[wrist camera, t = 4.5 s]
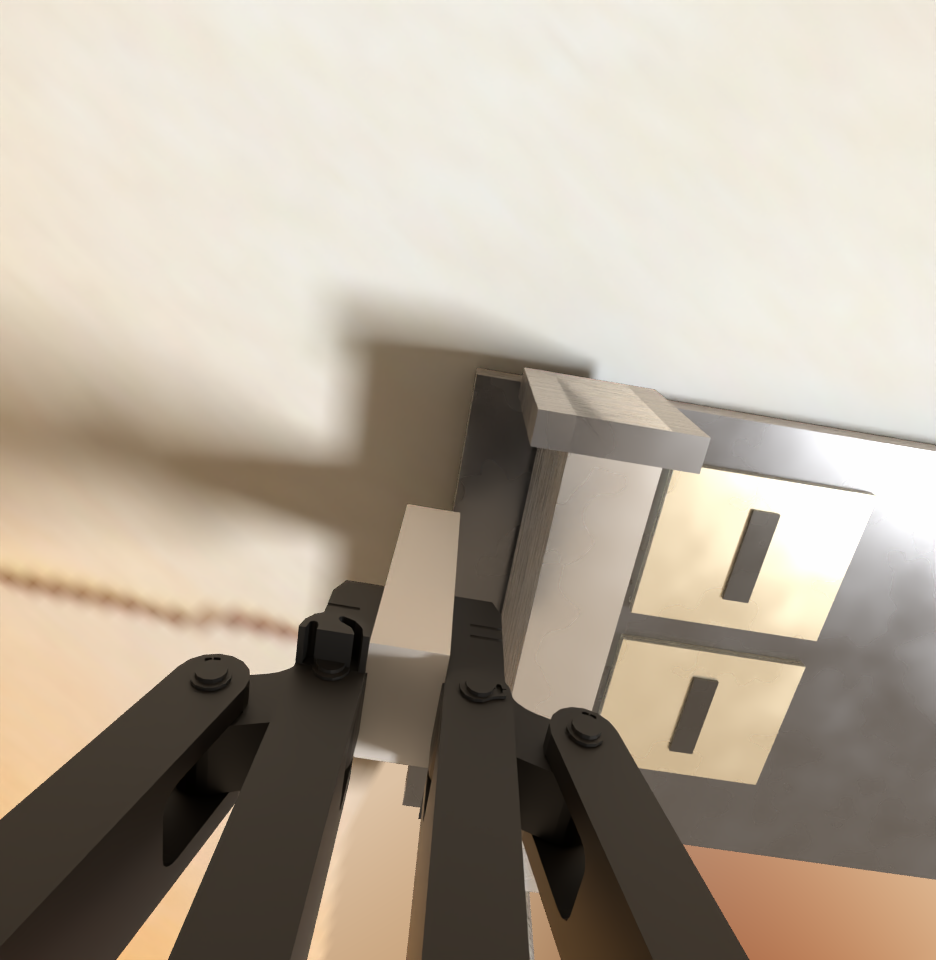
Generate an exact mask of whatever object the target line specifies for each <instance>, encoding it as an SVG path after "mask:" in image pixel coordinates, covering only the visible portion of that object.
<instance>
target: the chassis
mask: <svg viewBox="0 0 936 960" xmlns="http://www.w3.org/2000/svg"><path fill="white" fill-rule="evenodd" d="M521 380H522V375H518V374H512V373H506V372H500V371H494V370H489V369H483V368H477V370H476V376H475V382H474V388H473V393H472V399H471V405H470V411H469V417H468V423H467V428H466V434H465V440H464V446H463V452H462V457H461V463H460V469H459V475H458V481H457V487H456V492H455V498H454V504H453V510H452V511H453V512H459V513H460V524H459V538H458V552H457V566H456V579H455V593H454V596H457V597H463V598H469V599H475V600H482V601H488V602H492V603H493V604H494V606H495V607H496V608H497V610H498V611H499V613H500V614H502V609H503V604H504V600H505V595H506V591H507V586H508V581H509V577H510V572H511V567H512V563H513V558H514V553H515V549H516V544H517V539H518V535H519V530H520V525H521V521H522V516H523V511H524V507H525V502H526V497H527V493H528V488H529V483H530V479H531V474H532V469H533V465H534V460H535V455H536V451H537V447H532V446H530V442H529V438H528V434H527V430H526V426H525V422H524V418H523V413H522V409H521V405H520V401H519V397H518V395H519V390H520V385H521ZM668 401H669V402H670V403H671V404H672V405H673V406H675V407H676V408H677V409H678V410H679V411H680V412H682V413H683V414H684V415H685V416H686V417H687V418H688V419H690V420H691V421H692V422H693V423H694V424H695V425H697V426H698V427H699V428H700V429H701V430H702V431H703V432H705V433H706V434H707V435H708V436H709V437H710V438H711V439H710V443H709V446H708V449H707V452H706V455H705V459H704V462H703V465H702V468H701V471H700V474H696V473H689V472H683V471H677V470H671V469H665V468H662V471H661V474H660V478H659V481H658V485H657V488H656V492H655V495H654V499H653V502H652V505H651V509H650V512H649V516H648V519H647V523H646V526H645V530H644V533H643V536H642V540H641V543H640V547H639V550H638V554H637V557H636V560H635V564H634V567H633V571H632V574H631V578H630V581H629V585H628V588H627V591H626V595H625V598H624V602H623V605H622V609H621V612H620V616H619V619H618V622H617V626H616V629H615V633H614V636H613V640H612V643H611V647H610V650H609V653H608V657H607V660H606V664H605V667H604V671H603V674H602V678H601V681H600V684H599V688H598V691H597V695H596V698H595V702H594V705H593V709H592V711H593V712H595V713H598V714H599V715H601V716H602V717H604V718H605V719H606V720H608V721H609V722H610V723H611V724H612V725H613V726H614V728H615V729H616V730H617V731H618V733H619V735H620V737H621V738H622V740H623V742H624V743H625V745H626V747H627V749H628V750H629V752H630V754H631V756H632V757H633V759H634V761H635V763H636V764H637V766H638V768H639V769H640V771H641V773H642V775H643V776H644V778H645V780H646V782H647V783H648V785H649V787H650V789H651V790H652V792H653V794H654V795H655V797H656V799H657V801H658V802H659V804H660V806H661V808H662V809H663V811H664V813H665V815H666V816H667V818H668V820H669V821H670V823H671V825H672V827H673V828H674V830H675V832H676V834H677V835H678V837H679V839H680V841H681V842H682V844H685V845H692V846H699V847H706V848H714V849H721V850H728V851H735V852H742V853H749V854H757V855H764V856H771V857H778V858H785V859H792V860H799V861H807V862H815V863H821V864H828V865H835V866H842V867H850V868H857V869H864V870H871V871H878V872H885V873H892V874H900V875H907V876H914V877H921V878H929V879H936V445H932V444H926V443H920V442H914V441H908V440H902V439H896V438H890V437H884V436H878V435H872V434H867V433H861V432H855V431H849V430H843V429H837V428H831V427H825V426H819V425H813V424H807V423H802V422H796V421H790V420H784V419H778V418H772V417H766V416H760V415H754V414H748V413H743V412H737V411H731V410H725V409H719V408H713V407H707V406H701V405H695V404H689V403H683V402H678V401H672V400H668ZM428 766H429V765H428ZM427 772H428V768H424V767H417V766H411V765H409V766H408V772H407V778H406V783H405V791H404V798H403V805H406V806H413V807H420V808H421V803H422V797H423V792H424V787H425V782H426V777H427ZM525 895H526V910H527V925H528V940H529V955H530V960H534V949H533V935H532V923H531V909H530V896H529V891H525Z"/></svg>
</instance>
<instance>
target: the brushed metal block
mask: <svg viewBox="0 0 936 960" xmlns="http://www.w3.org/2000/svg"><path fill="white" fill-rule="evenodd" d="M518 397H519V401H520V405H521V409H522V413H523V418H524V422H525V426H526V430H527V434H528V438H529V442H530V446H532V447H537V451H536V455H535V460H534V465H533V469H532V474H531V479H530V483H529V488H528V493H527V497H526V502H525V507H524V511H523V516H522V521H521V525H520V530H519V535H518V539H517V544H516V549H515V553H514V558H513V563H512V567H511V572H510V577H509V581H508V586H507V591H506V595H505V600H504V604H503V609H502V614H501V619H502V637H503V641H502V643H503V655H504V673H505V683H506V684H507V685H508V686H509V687H510V690H511V693H512V698H513V699H514V700H515V701H516V702H517V703H518V704H520V705H521V706H523V707H524V708H525V709H527V710H529V711H531V712H533V713H536V714H538V715H541V716H543V717H546V718H548V719H551V717H552V715H553V714H554V713H555V712H557V711H558V710H560V709H563V708H568V707H577V708H585V709H588V710H590V711H592V709H593V705H594V702H595V698H596V695H597V691H598V688H599V684H600V681H601V678H602V674H603V671H604V667H605V664H606V660H607V657H608V653H609V650H610V647H611V643H612V640H613V636H614V633H615V629H616V626H617V622H618V619H619V616H620V612H621V609H622V605H623V602H624V598H625V595H626V591H627V588H628V585H629V581H630V578H631V574H632V571H633V567H634V564H635V560H636V557H637V554H638V550H639V547H640V543H641V540H642V536H643V533H644V530H645V526H646V523H647V519H648V516H649V512H650V509H651V505H652V502H653V499H654V495H655V492H656V488H657V485H658V481H659V478H660V474H661V471H662V468H665V469H671V470H677V471H683V472H689V473H696V474H700V471H701V468H702V465H703V462H704V459H705V455H706V452H707V449H708V446H709V443H710V439H711V438H710V437H709V436H708V435H707V434H706V433H705V432H703V431H702V430H701V429H700V428H699V427H698V426H697V425H695V424H694V423H693V422H692V421H691V420H690V419H688V418H687V417H686V416H685V415H684V414H683V413H682V412H680V411H679V410H678V409H677V408H676V407H675V406H673V405H672V404H671V403H670V402H669V401H668V400H667V399H665V398H664V397H663V396H662V395H661V394H660V393H658V392H657V391H656V390H655V389H649V388H643V387H637V386H632V385H626V384H620V383H614V382H608V381H602V380H596V379H590V378H584V377H579V376H573V375H567V374H561V373H555V372H549V371H543V370H537V369H531V368H526V367H524V370H523V375H522V380H521V385H520V390H519V395H518ZM522 849H523V864H524V880H525V891H529V892H536V893H539V891H538V888H537V884H536V881H535V878H534V875H533V872H532V869H531V866H530V863H529V860H528V857H527V854H526V851H525V848H524V845H523V842H522Z"/></svg>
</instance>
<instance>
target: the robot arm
mask: <svg viewBox="0 0 936 960" xmlns="http://www.w3.org/2000/svg"><path fill="white" fill-rule="evenodd" d="M459 524H460V513H459V512H453V511H447V510H441V509H435V508H429V507H423V506H417V505H411V504H407V507H406V511H405V515H404V518H403V522H402V526H401V529H400V533H399V537H398V540H397V544H396V548H395V551H394V555H393V559H392V562H391V566H390V570H389V573H388V577H387V581H386V584H385V586H379V585H373V584H367V583H360V582H354V581H348V580H346V581H345V582H344V583H342V584H341V585H340V586H338V587H337V588H336V589H334V590H333V592H332V595H331V597H330V600H329V602H328V605H327V607H326V609H325V612H323V613H317V614H314V615H312V616H310V617H308V618H306V619H305V620H304V621H303V622H302V623H301V624H300V625H299V631H298V641H297V652H296V662H295V665H294V666H293V667H292V668H290V669H287V670H284V671H281V672H277V673H270V674H259V675H250V671H249V668H248V667H247V666H246V665H245V663H244V662H243V661H241V660H239V659H237V658H235V657H233V656H228V655H223V654H210V655H202V656H199V657H195V658H192V659H190V660H188V661H186V662H185V663H183V664H181V665H180V666H178V667H177V668H176V669H175V670H174V671H173V672H171V673H170V674H169V675H168V676H167V677H166V678H164V679H163V680H162V681H161V682H160V683H159V684H157V685H156V686H155V687H154V688H153V689H152V690H150V691H149V692H148V693H147V694H146V695H145V696H143V697H142V698H141V699H140V700H139V701H138V702H136V703H135V704H134V705H133V706H132V707H131V708H130V709H128V710H127V711H126V712H125V713H124V714H123V715H121V716H120V717H119V718H118V719H117V720H116V721H114V722H113V723H112V724H111V725H110V726H109V727H107V728H106V729H105V730H104V731H103V732H102V733H100V734H99V735H98V736H97V737H96V738H95V739H94V740H92V741H91V742H90V743H89V744H88V745H87V746H85V747H84V748H83V749H82V750H81V751H80V752H78V753H77V754H76V755H75V756H74V757H73V758H71V759H70V760H69V761H68V762H67V763H66V764H64V765H63V766H62V767H61V768H60V769H59V770H58V771H56V772H55V773H54V774H53V775H52V776H51V777H49V778H48V779H47V780H46V781H45V782H44V783H42V784H41V785H40V786H39V787H38V788H37V789H35V790H34V791H33V792H32V793H31V794H30V795H28V796H27V797H26V798H25V799H24V800H23V801H21V802H20V803H19V804H18V805H17V806H16V807H15V808H13V809H12V810H11V811H10V812H9V813H8V814H6V815H5V816H4V817H3V818H2V819H1V820H0V960H116V959H117V958H118V957H119V955H120V954H121V953H122V951H123V950H124V949H125V947H126V946H127V945H128V944H129V942H130V941H131V940H132V938H133V937H134V936H135V934H136V933H137V932H138V930H139V929H140V928H141V926H142V925H143V924H144V922H145V921H146V920H147V919H148V917H149V916H150V915H151V913H152V912H153V911H154V909H155V908H156V907H157V905H158V904H159V903H160V901H161V900H162V899H163V897H164V896H165V895H166V894H167V892H168V891H169V890H170V888H171V887H172V886H173V884H174V883H175V882H176V880H177V879H178V878H179V876H180V875H181V874H182V872H183V871H184V870H185V868H186V867H187V866H188V865H189V863H190V862H191V861H192V859H193V858H194V857H195V855H196V854H197V853H198V851H199V850H200V849H201V847H202V846H203V845H204V843H205V842H206V841H207V840H208V838H209V837H210V836H211V834H212V833H213V832H214V830H215V829H216V828H217V826H218V825H219V824H220V822H221V821H222V820H223V818H224V817H225V816H226V814H227V813H228V812H229V811H230V809H231V808H232V807H233V805H234V804H235V805H234V807H233V809H232V812H231V814H230V816H229V819H228V821H227V823H226V826H225V828H224V830H223V833H222V835H221V837H220V840H219V842H218V844H217V847H216V849H215V851H214V854H213V856H212V858H211V861H210V863H209V865H208V868H207V870H206V872H205V875H204V877H203V879H202V882H201V884H200V886H199V889H198V891H197V893H196V896H195V898H194V900H193V903H192V905H191V907H190V910H189V912H188V914H187V917H186V919H185V921H184V924H183V926H182V928H181V931H180V933H179V935H178V938H177V940H176V942H175V945H174V947H173V949H172V952H171V954H170V956H169V959H168V960H307V957H308V953H309V949H310V945H311V940H312V936H313V932H314V928H315V923H316V919H317V915H318V911H319V907H320V902H321V898H322V894H323V890H324V885H325V881H326V877H327V873H328V869H329V864H330V860H331V856H332V852H333V848H334V843H335V839H336V835H337V831H338V826H339V822H340V818H341V814H342V810H343V805H344V801H345V797H346V793H347V788H348V784H349V780H350V774H351V767H352V760H353V757H357V758H364V759H370V760H377V761H384V762H391V763H397V764H404V765H411V766H417V767H424V768H428V772H427V777H426V782H425V787H424V792H423V797H422V803H421V808H420V813H419V819H421V824H420V833H419V843H418V852H417V862H416V872H415V881H414V890H413V900H412V909H411V919H410V929H409V938H408V947H407V957H406V960H530V955H529V940H528V925H527V910H526V895H525V880H524V864H523V849H522V842H523V845H524V848H525V851H526V854H527V857H528V860H529V863H530V866H531V869H532V872H533V875H534V878H535V881H536V884H537V888H538V891H539V894H540V897H541V900H542V903H543V906H544V909H545V912H546V915H547V918H548V921H549V924H550V927H551V930H552V933H553V936H554V940H555V943H556V946H557V949H558V952H559V955H560V958H561V960H749V959H748V957H747V955H746V953H745V952H744V950H743V948H742V946H741V945H740V943H739V941H738V940H737V938H736V936H735V934H734V932H733V931H732V929H731V927H730V926H729V924H728V922H727V920H726V919H725V917H724V915H723V914H722V912H721V910H720V908H719V906H718V905H717V903H716V901H715V900H714V898H713V896H712V895H711V893H710V891H709V889H708V887H707V886H706V884H705V882H704V880H703V879H702V877H701V875H700V874H699V872H698V870H697V868H696V867H695V865H694V864H693V861H692V860H691V858H690V856H689V855H688V853H687V851H686V849H685V848H684V846H683V844H682V842H681V841H680V839H679V837H678V835H677V834H676V832H675V830H674V828H673V827H672V825H671V823H670V821H669V820H668V818H667V816H666V815H665V813H664V811H663V809H662V808H661V806H660V804H659V802H658V801H657V799H656V797H655V795H654V794H653V792H652V790H651V789H650V787H649V785H648V783H647V782H646V780H645V778H644V776H643V775H642V773H641V771H640V769H639V768H638V766H637V764H636V763H635V761H634V759H633V757H632V756H631V754H630V752H629V750H628V749H627V747H626V745H625V743H624V742H623V740H622V738H621V737H620V735H619V733H618V731H617V730H616V729H615V728H614V726H613V725H612V724H611V723H610V722H609V721H608V720H606V719H605V718H604V717H602V716H601V715H599V714H598V713H595V712H593V711H590V710H588V709H585V708H577V707H568V708H563V709H560V710H558V711H557V712H555V713H554V714H553V715H552V717H551V719H548V718H546V717H543V716H541V715H538V714H536V713H533V712H531V711H529V710H527V709H525V708H524V707H523V706H521V705H520V704H518V703H517V702H516V701H515V700H514V699H513V698H512V693H511V690H510V687H509V686H508V685H507V684H506V683H505V673H504V655H503V643H502V641H503V637H502V619H501V614H500V613H499V611H498V610H497V608H496V607H495V606H494V604H493V603H492V602H488V601H482V600H475V599H469V598H463V597H457V596H454V593H455V579H456V566H457V552H458V538H459ZM353 755H354V756H353ZM428 765H429V766H428Z"/></svg>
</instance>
